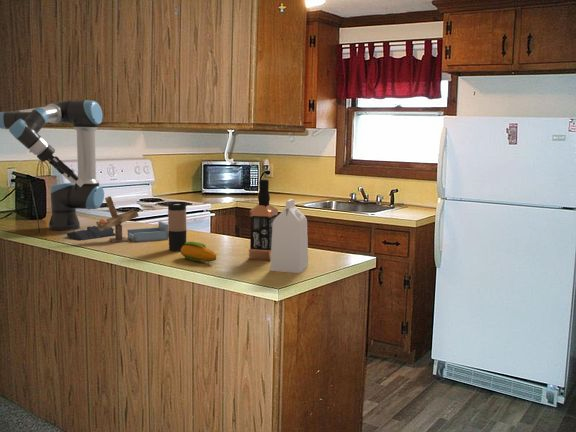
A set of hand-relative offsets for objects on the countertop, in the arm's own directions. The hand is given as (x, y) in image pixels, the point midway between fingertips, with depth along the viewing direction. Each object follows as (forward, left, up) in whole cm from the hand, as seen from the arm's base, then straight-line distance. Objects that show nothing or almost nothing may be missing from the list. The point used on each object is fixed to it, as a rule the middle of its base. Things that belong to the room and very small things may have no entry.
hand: (79, 183), depth 276 cm
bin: (-11, +28, -27) cm, 40 cm away
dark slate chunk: (-16, -1, -27) cm, 32 cm away
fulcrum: (-4, +16, -27) cm, 31 cm away
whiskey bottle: (+27, +85, -27) cm, 93 cm away
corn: (+34, +60, -27) cm, 74 cm away
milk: (+45, +96, -27) cm, 109 cm away
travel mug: (+14, +47, -27) cm, 56 cm away
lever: (-4, +16, -18) cm, 24 cm away
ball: (-1, +10, -18) cm, 20 cm away
